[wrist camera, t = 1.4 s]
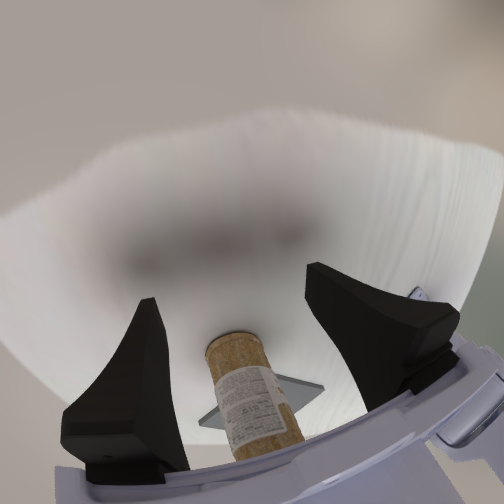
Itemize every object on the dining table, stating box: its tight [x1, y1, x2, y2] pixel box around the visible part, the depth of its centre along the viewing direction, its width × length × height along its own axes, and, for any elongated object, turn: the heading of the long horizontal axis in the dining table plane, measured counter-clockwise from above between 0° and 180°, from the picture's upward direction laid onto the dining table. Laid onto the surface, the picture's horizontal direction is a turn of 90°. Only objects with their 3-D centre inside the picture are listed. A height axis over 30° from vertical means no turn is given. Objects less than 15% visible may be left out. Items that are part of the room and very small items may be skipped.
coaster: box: [198, 374, 325, 430], centre depth 26 cm, size 10×10×1 cm
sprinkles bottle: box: [206, 333, 305, 462], centre depth 15 cm, size 5×5×14 cm
